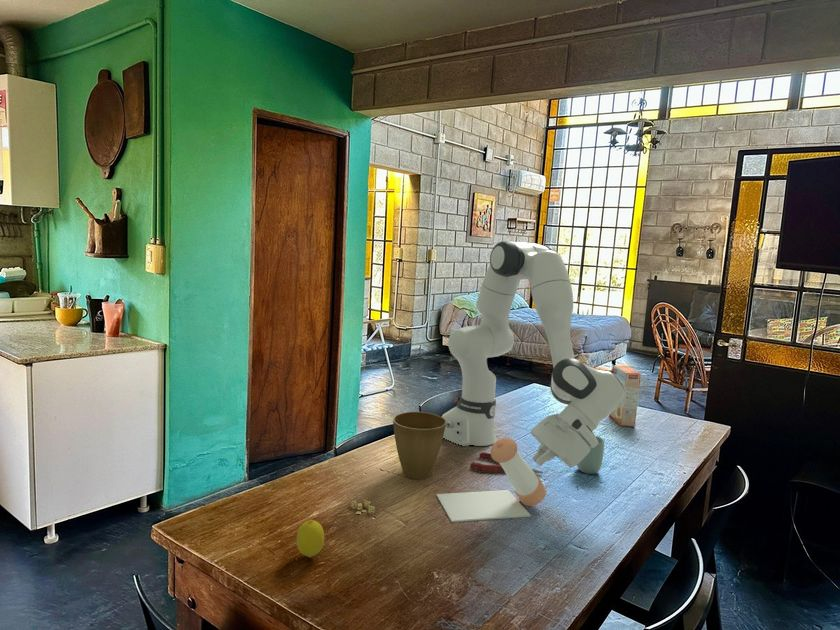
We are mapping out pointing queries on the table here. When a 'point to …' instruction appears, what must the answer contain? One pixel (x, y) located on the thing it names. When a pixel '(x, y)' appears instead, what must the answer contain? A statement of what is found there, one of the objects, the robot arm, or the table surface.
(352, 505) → the dice set
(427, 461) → the plant pot
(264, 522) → the table surface
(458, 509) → the mat
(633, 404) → the cracker box
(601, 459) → the cup
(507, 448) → the pepper shaker
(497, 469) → the pliers
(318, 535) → the lemon
